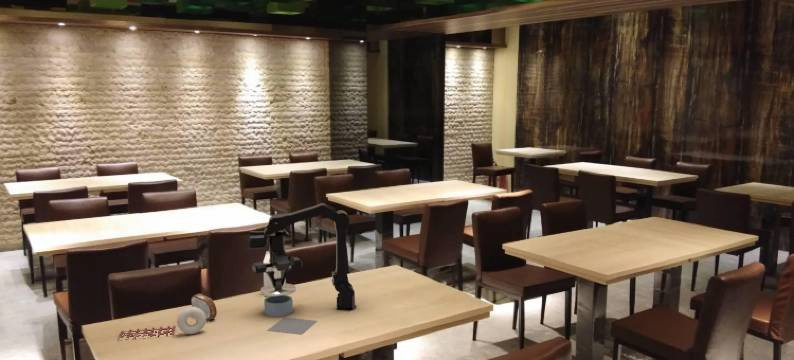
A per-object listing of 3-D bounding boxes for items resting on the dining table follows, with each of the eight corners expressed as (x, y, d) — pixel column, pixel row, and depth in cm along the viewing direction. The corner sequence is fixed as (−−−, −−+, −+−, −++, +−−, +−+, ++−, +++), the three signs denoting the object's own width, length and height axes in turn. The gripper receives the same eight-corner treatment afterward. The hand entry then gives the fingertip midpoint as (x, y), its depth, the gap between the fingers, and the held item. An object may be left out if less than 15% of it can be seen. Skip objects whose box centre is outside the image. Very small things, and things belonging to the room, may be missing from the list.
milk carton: (279, 297, 261) (278, 254, 259) (264, 296, 263) (262, 253, 260) (286, 292, 268) (284, 250, 266) (270, 291, 270) (269, 249, 267)
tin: (217, 320, 235) (216, 299, 234) (210, 323, 233) (209, 301, 232) (197, 311, 245) (196, 291, 244) (190, 313, 243) (189, 293, 242)
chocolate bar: (120, 334, 223) (120, 329, 223) (175, 329, 228) (175, 324, 227) (116, 342, 216) (116, 337, 216) (173, 337, 221) (173, 332, 220)
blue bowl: (297, 309, 247) (296, 296, 246) (284, 318, 236) (284, 305, 236) (272, 307, 250) (272, 293, 249) (259, 316, 239) (259, 302, 239)
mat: (317, 322, 233) (317, 320, 233) (301, 335, 220) (301, 334, 220) (284, 318, 237) (284, 317, 237) (266, 331, 224) (266, 330, 224)
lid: (301, 286, 246) (301, 275, 245) (286, 297, 233) (286, 285, 232) (270, 284, 249) (270, 272, 249) (254, 294, 236) (253, 282, 236)
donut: (206, 330, 226) (204, 303, 224) (207, 333, 223) (206, 306, 221) (177, 334, 222) (175, 307, 220) (178, 337, 219) (176, 310, 217)
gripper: (259, 255, 227) (260, 295, 229) (307, 249, 236) (308, 288, 238) (251, 248, 237) (252, 287, 239) (297, 243, 246) (298, 280, 248)
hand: (278, 286), depth 241 cm, fingers closed on lid, 3 cm apart
